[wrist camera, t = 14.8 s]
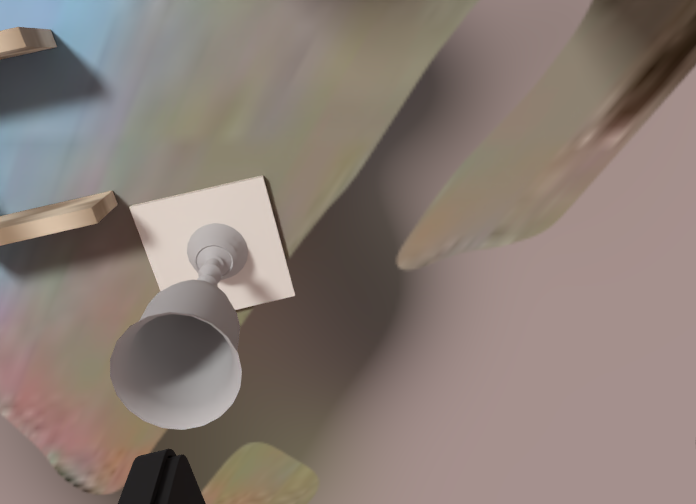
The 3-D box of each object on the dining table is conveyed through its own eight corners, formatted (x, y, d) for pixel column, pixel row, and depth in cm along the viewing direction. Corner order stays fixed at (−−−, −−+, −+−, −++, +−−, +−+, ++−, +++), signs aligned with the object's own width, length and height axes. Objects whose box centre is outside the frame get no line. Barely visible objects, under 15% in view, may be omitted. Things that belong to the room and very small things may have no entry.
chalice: (171, 211, 43) (99, 314, 27) (256, 209, 44) (237, 309, 27) (180, 292, 46) (120, 433, 29) (260, 290, 47) (245, 425, 30)
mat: (263, 175, 44) (262, 176, 43) (295, 292, 48) (295, 295, 47) (131, 205, 44) (129, 207, 43) (174, 321, 48) (173, 324, 47)
